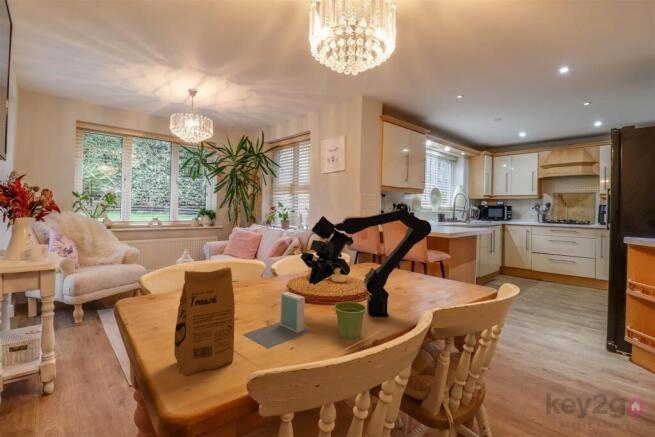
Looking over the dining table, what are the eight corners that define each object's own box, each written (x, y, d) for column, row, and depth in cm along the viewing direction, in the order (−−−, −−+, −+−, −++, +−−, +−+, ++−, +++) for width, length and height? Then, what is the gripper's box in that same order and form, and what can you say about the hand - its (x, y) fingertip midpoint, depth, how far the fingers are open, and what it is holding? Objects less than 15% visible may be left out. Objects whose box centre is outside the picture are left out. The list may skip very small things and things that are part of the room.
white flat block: (286, 322, 95) (287, 291, 95) (303, 330, 90) (304, 297, 90) (279, 325, 93) (280, 293, 93) (297, 332, 88) (298, 298, 88)
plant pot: (356, 346, 82) (357, 314, 81) (327, 337, 87) (328, 307, 86) (370, 334, 89) (371, 305, 89) (343, 327, 94) (344, 299, 94)
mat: (285, 321, 98) (285, 320, 98) (311, 332, 90) (311, 331, 90) (242, 335, 86) (242, 334, 86) (267, 349, 78) (267, 348, 78)
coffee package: (171, 360, 71) (173, 267, 70) (225, 347, 78) (226, 263, 78) (178, 380, 63) (180, 276, 62) (237, 364, 70) (239, 270, 69)
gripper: (305, 229, 107) (279, 263, 99) (346, 233, 95) (321, 273, 87) (319, 249, 113) (296, 283, 105) (359, 256, 101) (337, 295, 93)
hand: (311, 283), depth 97 cm, fingers closed
